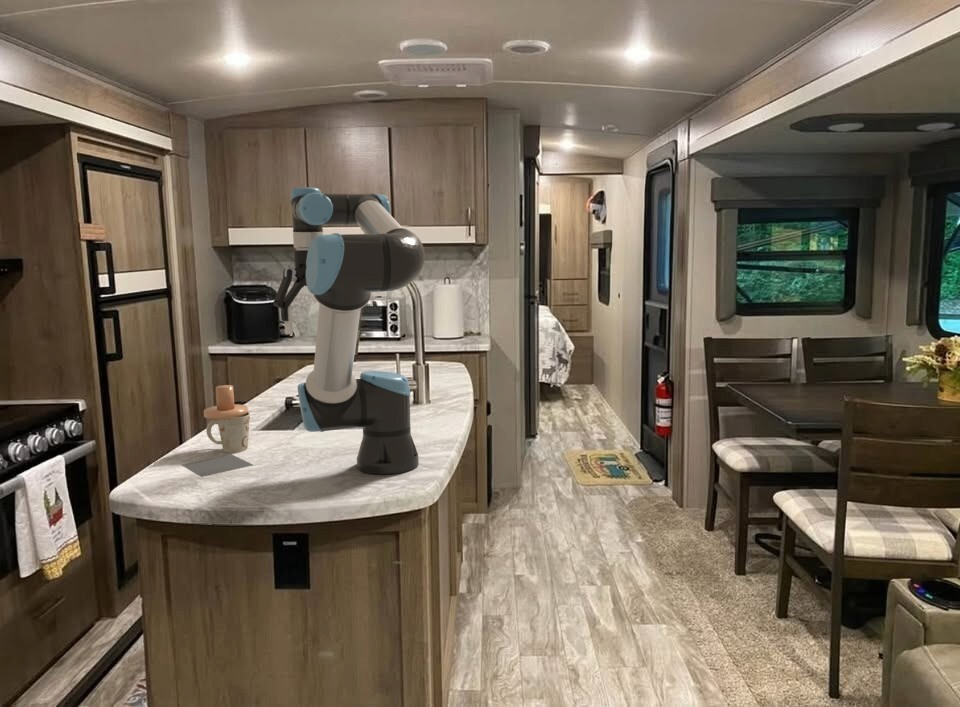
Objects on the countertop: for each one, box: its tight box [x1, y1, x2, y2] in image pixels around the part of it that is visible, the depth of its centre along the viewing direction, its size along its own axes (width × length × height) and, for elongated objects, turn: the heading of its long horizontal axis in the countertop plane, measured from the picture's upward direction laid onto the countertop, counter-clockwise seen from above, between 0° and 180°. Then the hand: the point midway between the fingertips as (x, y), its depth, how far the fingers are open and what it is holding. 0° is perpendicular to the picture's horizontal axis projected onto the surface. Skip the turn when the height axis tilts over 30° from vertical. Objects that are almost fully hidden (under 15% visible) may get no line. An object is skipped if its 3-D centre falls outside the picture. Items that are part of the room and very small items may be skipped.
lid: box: [203, 384, 249, 420], centre depth 197 cm, size 11×11×8 cm
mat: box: [181, 453, 254, 478], centre depth 184 cm, size 13×13×1 cm
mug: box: [206, 411, 251, 454], centre depth 198 cm, size 8×13×10 cm, turn 78°
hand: (312, 331), depth 194 cm, fingers open, 13 cm apart
